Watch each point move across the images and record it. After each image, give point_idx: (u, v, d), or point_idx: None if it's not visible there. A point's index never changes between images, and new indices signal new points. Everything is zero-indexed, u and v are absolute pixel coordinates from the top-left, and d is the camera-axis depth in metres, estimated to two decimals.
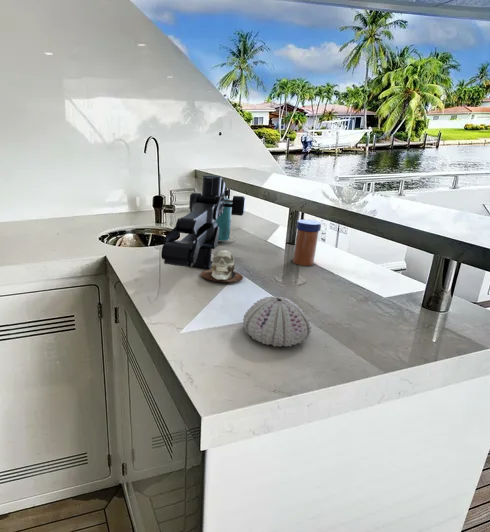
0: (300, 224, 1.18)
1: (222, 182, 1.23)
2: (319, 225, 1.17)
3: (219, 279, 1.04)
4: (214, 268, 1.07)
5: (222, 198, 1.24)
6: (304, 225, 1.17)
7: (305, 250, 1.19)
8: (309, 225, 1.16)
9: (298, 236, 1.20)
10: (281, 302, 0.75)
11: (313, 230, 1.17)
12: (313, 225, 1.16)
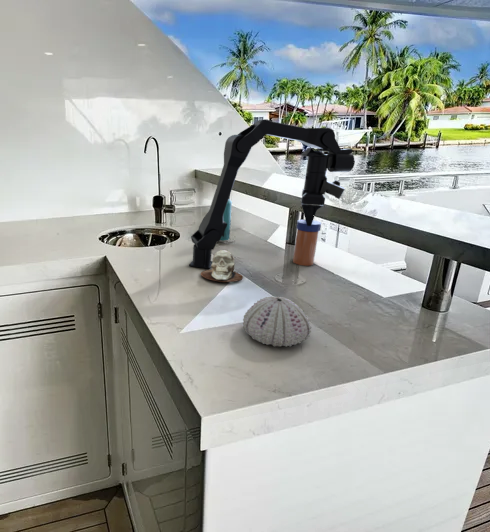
0: (300, 224, 1.18)
1: (342, 188, 1.12)
2: (319, 225, 1.17)
3: (219, 279, 1.04)
4: (214, 268, 1.07)
5: (323, 184, 1.12)
6: (304, 225, 1.17)
7: (305, 250, 1.19)
8: None
9: (298, 236, 1.20)
10: (281, 302, 0.75)
11: (313, 230, 1.17)
12: (313, 225, 1.16)
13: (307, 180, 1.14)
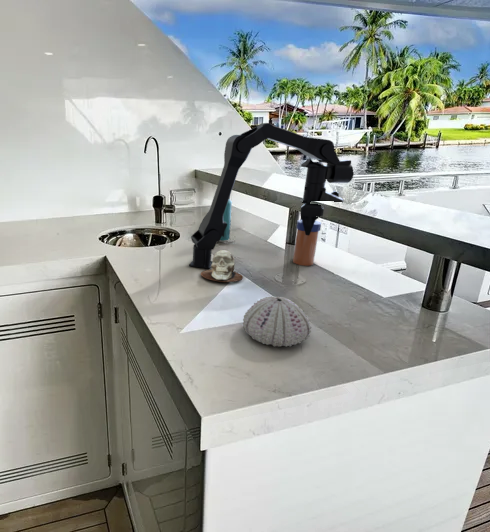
0: (300, 224, 1.18)
1: (340, 199, 1.13)
2: (319, 225, 1.17)
3: (219, 279, 1.04)
4: (214, 268, 1.07)
5: (322, 195, 1.13)
6: None
7: (305, 250, 1.19)
8: None
9: (298, 236, 1.20)
10: (281, 302, 0.75)
11: (313, 230, 1.17)
12: (313, 225, 1.16)
13: (306, 191, 1.15)
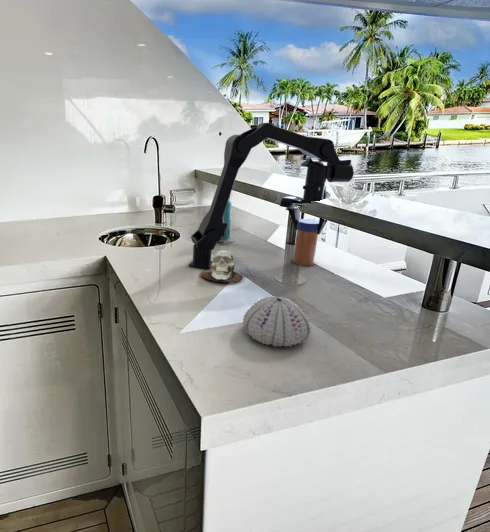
0: (313, 225, 1.16)
1: None
2: None
3: (219, 279, 1.04)
4: (214, 268, 1.07)
5: (325, 193, 1.16)
6: (317, 225, 1.17)
7: (305, 250, 1.19)
8: None
9: (298, 236, 1.20)
10: (281, 302, 0.75)
11: None
12: None
13: (317, 191, 1.13)
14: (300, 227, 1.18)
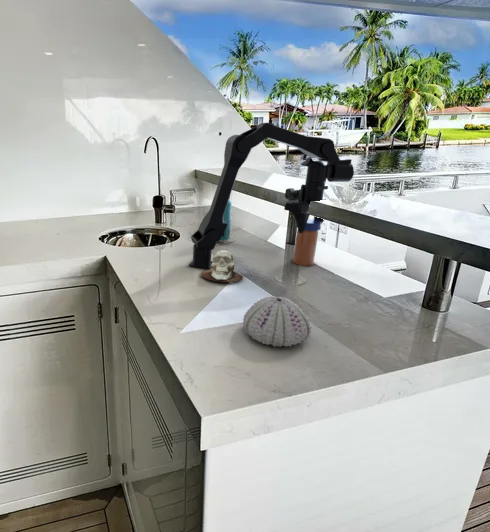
0: None
1: None
2: None
3: (219, 279, 1.04)
4: (214, 268, 1.07)
5: None
6: None
7: (305, 250, 1.19)
8: None
9: (298, 236, 1.20)
10: (281, 302, 0.75)
11: None
12: None
13: None
14: (314, 228, 1.17)
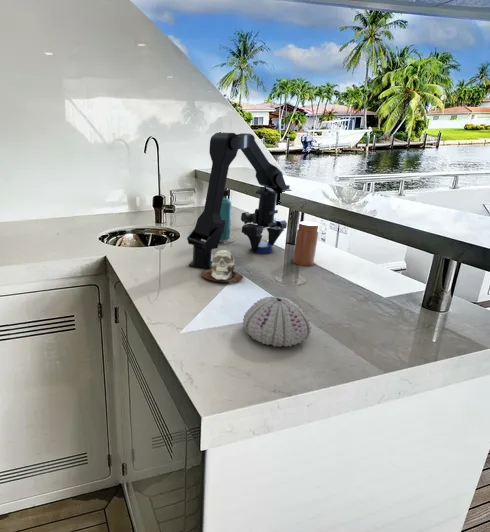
0: None
1: None
2: None
3: (219, 279, 1.04)
4: (214, 268, 1.07)
5: None
6: None
7: (305, 250, 1.19)
8: None
9: (298, 236, 1.20)
10: (281, 302, 0.75)
11: None
12: None
13: (274, 214, 1.31)
14: (267, 251, 1.32)
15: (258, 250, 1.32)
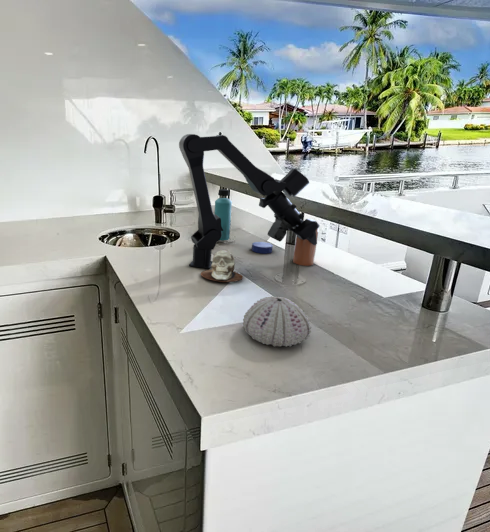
0: None
1: (268, 232, 1.21)
2: None
3: (219, 279, 1.04)
4: (214, 268, 1.07)
5: None
6: None
7: (305, 250, 1.19)
8: None
9: None
10: (281, 302, 0.75)
11: None
12: None
13: None
14: (267, 251, 1.32)
15: (258, 250, 1.32)
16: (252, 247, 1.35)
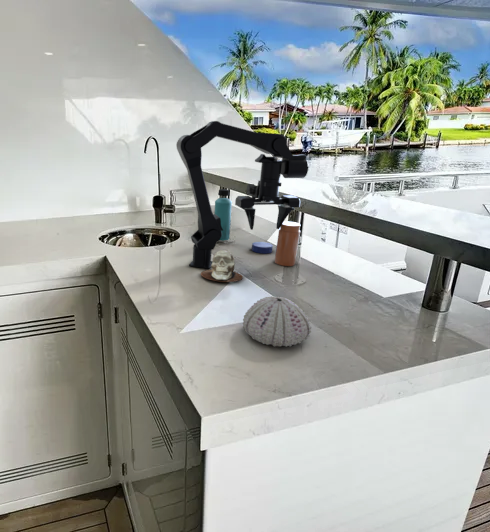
0: None
1: None
2: None
3: (219, 279, 1.04)
4: (214, 268, 1.07)
5: None
6: None
7: (286, 250, 1.18)
8: None
9: (279, 236, 1.19)
10: (281, 302, 0.75)
11: None
12: None
13: (278, 187, 1.12)
14: (267, 251, 1.32)
15: (258, 250, 1.32)
16: (252, 247, 1.35)
